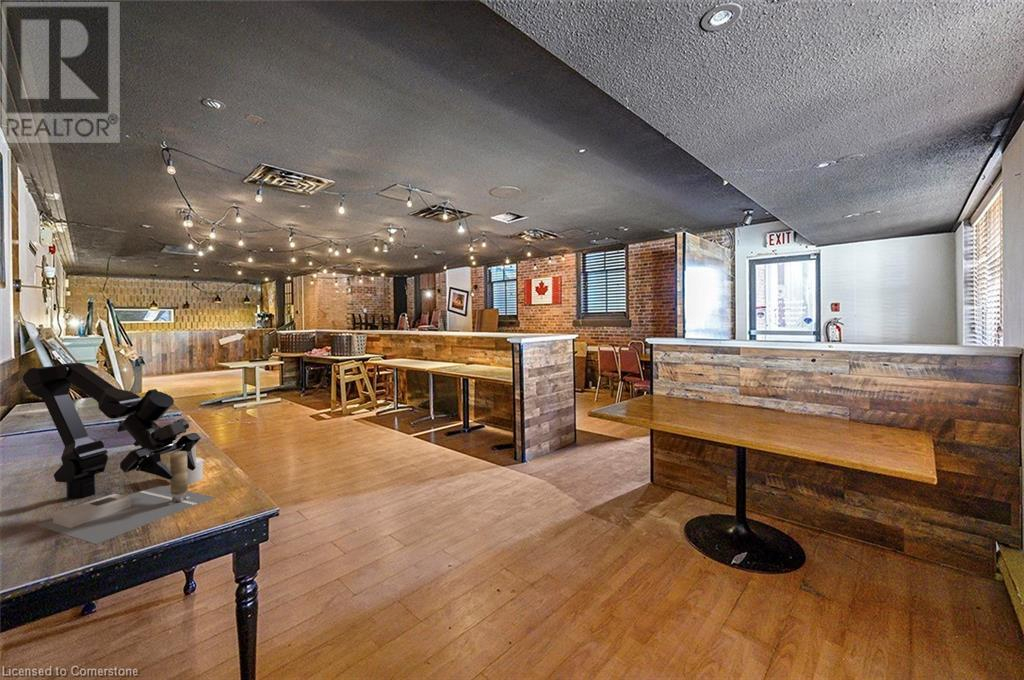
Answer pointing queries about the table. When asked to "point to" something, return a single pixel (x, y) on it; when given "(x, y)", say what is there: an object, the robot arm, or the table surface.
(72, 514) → the white flat block
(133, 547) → the table surface
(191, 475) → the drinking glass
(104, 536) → the floor panel
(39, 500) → the table surface
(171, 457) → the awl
